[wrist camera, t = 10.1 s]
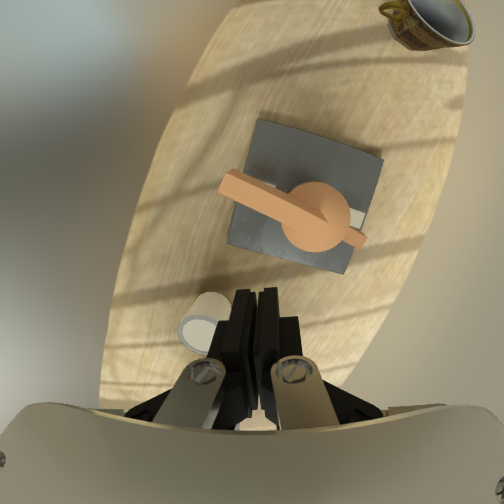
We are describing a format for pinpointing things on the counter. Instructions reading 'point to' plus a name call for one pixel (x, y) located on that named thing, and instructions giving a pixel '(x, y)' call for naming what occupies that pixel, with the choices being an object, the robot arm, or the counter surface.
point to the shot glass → (203, 321)
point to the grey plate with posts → (298, 172)
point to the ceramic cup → (429, 23)
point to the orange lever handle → (298, 210)
